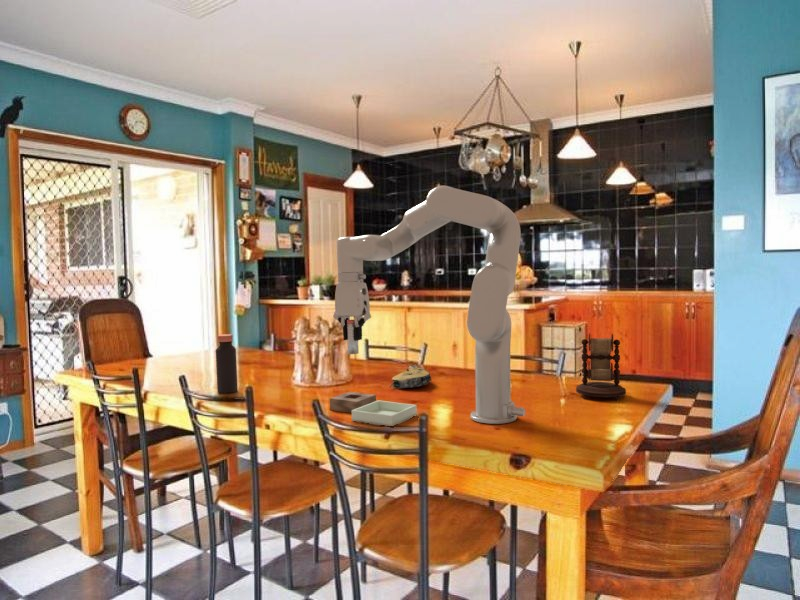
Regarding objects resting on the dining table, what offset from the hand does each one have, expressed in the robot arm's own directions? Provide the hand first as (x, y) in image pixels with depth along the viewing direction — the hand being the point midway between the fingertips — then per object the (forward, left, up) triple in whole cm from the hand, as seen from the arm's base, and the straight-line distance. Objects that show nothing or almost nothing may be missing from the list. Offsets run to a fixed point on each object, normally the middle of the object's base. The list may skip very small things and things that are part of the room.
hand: (352, 339), depth 171 cm
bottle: (+55, +1, -21) cm, 59 cm away
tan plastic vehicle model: (+3, -41, -22) cm, 46 cm away
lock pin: (0, 0, -4) cm, 4 cm away
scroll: (-61, -47, -21) cm, 80 cm away
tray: (-14, +5, -21) cm, 26 cm away
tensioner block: (+1, 0, -21) cm, 21 cm away
